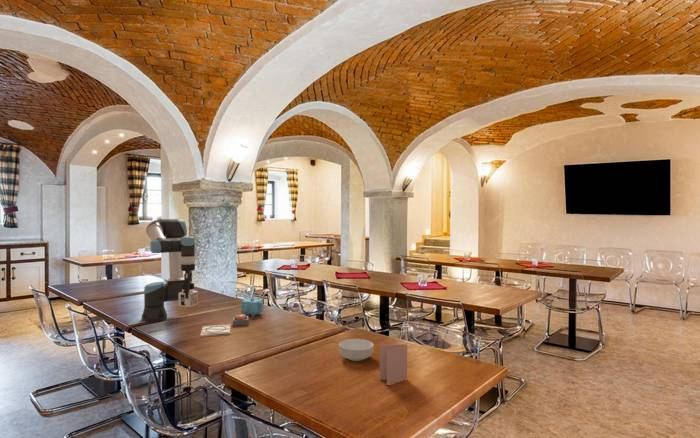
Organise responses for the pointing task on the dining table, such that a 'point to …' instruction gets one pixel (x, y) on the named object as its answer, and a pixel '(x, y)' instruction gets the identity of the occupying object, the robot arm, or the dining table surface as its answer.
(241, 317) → the button
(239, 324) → the button box
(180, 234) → the robot arm
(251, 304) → the teapot
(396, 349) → the greeting card
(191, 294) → the container
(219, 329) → the drawing board
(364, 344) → the cereal bowl
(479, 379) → the dining table surface
